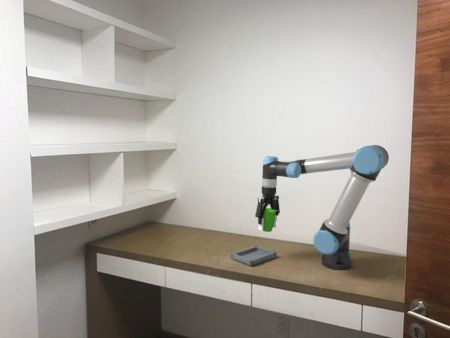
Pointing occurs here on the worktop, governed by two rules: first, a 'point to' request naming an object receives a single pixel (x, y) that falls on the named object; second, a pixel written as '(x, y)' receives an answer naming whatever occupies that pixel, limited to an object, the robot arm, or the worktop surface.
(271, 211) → the cup
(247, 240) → the worktop surface
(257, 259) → the grey tray
